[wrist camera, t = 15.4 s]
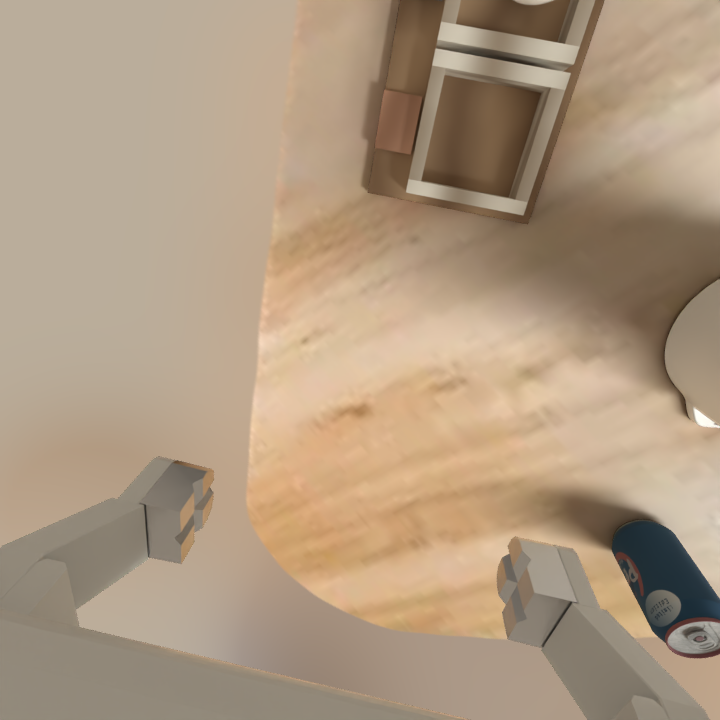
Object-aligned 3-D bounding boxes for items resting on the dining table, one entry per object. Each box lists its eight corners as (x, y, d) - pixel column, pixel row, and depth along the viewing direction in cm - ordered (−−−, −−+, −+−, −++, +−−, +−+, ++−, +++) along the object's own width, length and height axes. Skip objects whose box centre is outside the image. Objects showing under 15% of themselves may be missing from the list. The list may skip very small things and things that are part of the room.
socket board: (637, -110, 27) (667, -146, 24) (525, 222, 36) (535, 228, 33) (425, -145, 27) (427, -186, 24) (368, 191, 37) (364, 194, 33)
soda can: (596, 532, 50) (645, 633, 39) (652, 506, 47) (722, 607, 37) (626, 564, 52) (681, 670, 41) (682, 541, 49) (757, 648, 38)
